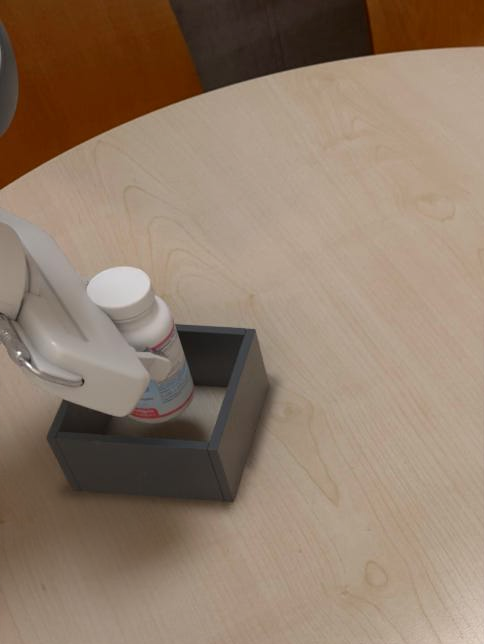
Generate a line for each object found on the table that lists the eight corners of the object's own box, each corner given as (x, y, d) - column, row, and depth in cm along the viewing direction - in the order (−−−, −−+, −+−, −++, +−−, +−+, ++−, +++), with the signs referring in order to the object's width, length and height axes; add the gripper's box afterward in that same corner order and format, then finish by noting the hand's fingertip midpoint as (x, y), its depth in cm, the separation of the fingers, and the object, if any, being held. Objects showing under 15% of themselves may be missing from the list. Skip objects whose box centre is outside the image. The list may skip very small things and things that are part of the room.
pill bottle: (105, 407, 86) (57, 293, 77) (158, 363, 89) (118, 248, 79) (159, 437, 84) (116, 325, 75) (212, 392, 87) (177, 278, 77)
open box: (77, 501, 88) (45, 438, 82) (124, 385, 96) (97, 319, 89) (237, 512, 87) (216, 449, 81) (272, 394, 95) (255, 328, 88)
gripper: (43, 329, 64) (224, 385, 75) (-62, 165, 74) (112, 236, 85) (1, 412, 67) (182, 455, 78) (-96, 243, 76) (78, 302, 87)
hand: (145, 339), depth 82 cm, fingers closed on pill bottle, 6 cm apart
